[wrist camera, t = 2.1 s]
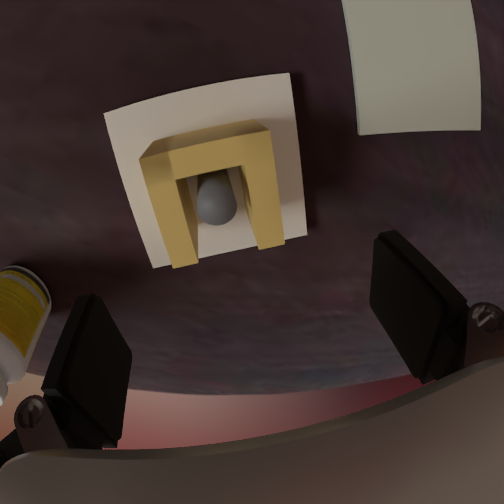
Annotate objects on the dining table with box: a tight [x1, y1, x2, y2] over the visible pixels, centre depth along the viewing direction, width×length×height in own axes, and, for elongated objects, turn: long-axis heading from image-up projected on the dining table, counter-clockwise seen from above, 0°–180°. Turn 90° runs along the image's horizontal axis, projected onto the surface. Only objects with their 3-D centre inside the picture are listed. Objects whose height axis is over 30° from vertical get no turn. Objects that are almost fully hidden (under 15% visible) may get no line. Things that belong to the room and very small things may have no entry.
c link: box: [139, 119, 285, 268], centre depth 18 cm, size 6×6×5 cm
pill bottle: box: [0, 266, 51, 406], centre depth 18 cm, size 6×6×12 cm
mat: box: [342, 0, 481, 135], centre depth 17 cm, size 14×14×1 cm
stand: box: [104, 73, 307, 268], centre depth 18 cm, size 12×12×6 cm
